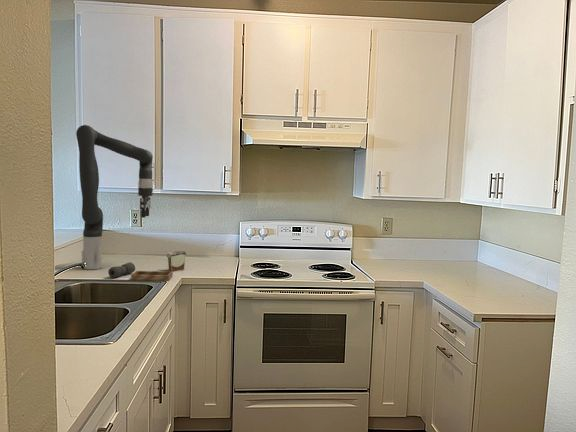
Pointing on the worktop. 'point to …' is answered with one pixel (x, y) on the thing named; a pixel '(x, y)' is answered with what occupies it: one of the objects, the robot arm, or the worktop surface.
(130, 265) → the flashlight
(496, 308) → the worktop surface
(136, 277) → the open wooden frame
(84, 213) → the robot arm
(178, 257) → the food container
